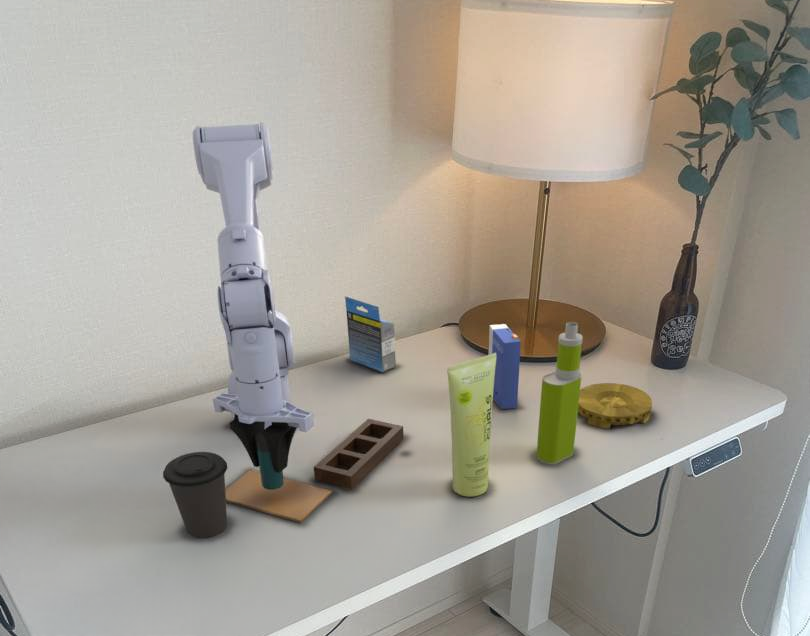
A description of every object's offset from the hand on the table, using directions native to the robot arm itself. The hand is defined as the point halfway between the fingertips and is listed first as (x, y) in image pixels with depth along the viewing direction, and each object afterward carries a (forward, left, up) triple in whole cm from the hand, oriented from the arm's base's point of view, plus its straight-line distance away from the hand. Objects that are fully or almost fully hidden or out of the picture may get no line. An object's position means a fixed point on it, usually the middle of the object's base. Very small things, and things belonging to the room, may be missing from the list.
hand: (270, 466), depth 110 cm
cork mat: (0, 0, -5) cm, 5 cm away
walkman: (+18, +41, -5) cm, 45 cm away
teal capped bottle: (0, 0, -3) cm, 3 cm away
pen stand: (+6, +14, -5) cm, 16 cm away
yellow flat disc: (+36, +44, -5) cm, 57 cm away
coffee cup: (-4, -10, -5) cm, 12 cm away
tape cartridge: (-9, +45, -5) cm, 46 cm away
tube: (+24, +13, -5) cm, 28 cm away
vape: (+32, +27, -5) cm, 42 cm away
